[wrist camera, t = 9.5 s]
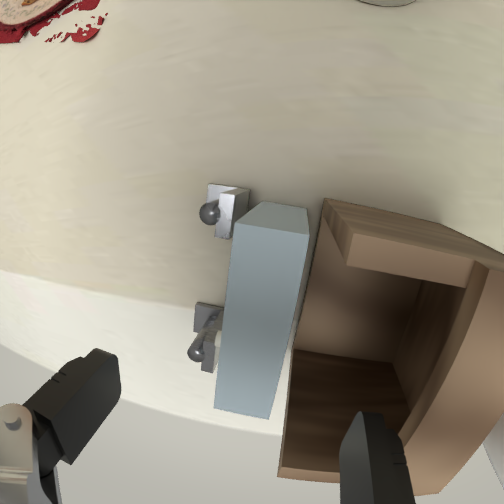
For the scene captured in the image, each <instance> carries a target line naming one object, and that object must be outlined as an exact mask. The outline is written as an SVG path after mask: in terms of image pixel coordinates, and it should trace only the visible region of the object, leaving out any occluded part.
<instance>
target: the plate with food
mask: <svg viewBox="0 0 504 504" xmlns="http://www.w3.org/2000/svg"><path fill="white" fill-rule="evenodd" d="M72 1H74V0H0V43H12V42H19V40H20V39H21V38H22V37H23V35H24V33H25V32H26V31H29V30H30V33H31V34H32V36H35V37H36V35H38V34H39V33H38V34H37V32H38V31H39V30H40V29H41V28H43V27H44V26H48V25H49V24H50V23H51V21H52V20H53V19H51V18H60V16H61V15H59V14H58V13H57V12H58V11H61V10H62V9H63V8H64V7H65V6H66V5H68V4H70V3H71V2H72ZM99 2H100V0H83V1H82V2H79V3H75V4H74V5H72V6H71V7H69V8H67V9H65V11H63V13H62V15H64V14H67V13H69V12H71V11H73V9H74V8H75V9H74V10H76V9H77V8H79V9H78V10H79V11H81V10H93V9H95V8H96V7H97V5H98V4H99ZM77 4H78V7H76V5H77ZM81 4H82V5H81ZM54 14H55V15H54ZM107 14H108V13H106V14H105V15H106V16H107ZM53 15H54V16H53ZM91 18H95V17H93V16H92V17H91ZM49 19H51V21H50V22H48V20H49ZM103 19H104V18H102V17H101V16H99V19H98V23H97V24H98V25H102V20H103ZM47 22H48V23H47ZM81 22H82V21H81ZM94 24H95V23H94ZM75 25H76V27H77V24H75ZM86 27H89V30H88V31H86V30H84V32H83V31H82V30H83V29H82V28H79V29H78V31H77V33H68V32H67V33H66V35H65V38H64V39H63V40H65V39H66V38H67V37H68V36H69V35H71V37H72V41H74V42H83V41H85V40H87V39H89V38H90V37H92V36H93V35H94V34H95V33H96V32H97V31H98V30H99V29H96V28H92V27H91V24H87V25H86ZM62 33H63V32H62ZM62 33H61V32H60V33H59V34H58V36H57V38H58V37H59V36H60V35H61V34H62ZM84 33H86V34H87V35H86V36H83V35H82V34H84ZM55 36H56V35H55V34H54V36H53V37H54V39H55V38H56V37H55ZM53 37H52V38H48V40H49V39H50V40H49V42H51V41H52V39H53ZM61 38H62V37H61ZM48 40H46V41H45V42H47V41H48ZM63 40H62V41H63ZM62 41H61V42H62ZM20 43H21V42H20Z"/></svg>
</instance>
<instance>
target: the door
mask: <svg viewBox="0 0 504 504" xmlns="http://www.w3.org/2000/svg"><path fill="white" fill-rule="evenodd" d="M309 237H310V234H309V225H308V217H307V209H306V208H301V207H295V206H289V205H283V204H277V203H271V202H265V201H262V202H261V203H259V204H258V205H257V206H255V207H254V208H253V209H252V210H250V211H249V212H248V213H247V214H245V215H244V216H243V217H241V218H240V219H239V220H238V221H236V222H235V225H234V233H233V241H232V249H231V257H230V265H229V274H228V282H227V290H226V299H225V307H224V316H223V325H222V331H218V332H217V335H216V338H215V346H216V347H220V352H219V361H218V371H217V380H216V390H215V400H214V408H215V409H220V410H224V411H228V412H233V413H237V414H242V415H247V416H252V417H257V418H263V419H268V420H269V417H270V413H271V409H272V405H273V401H274V397H275V393H276V389H277V385H278V381H279V377H280V373H281V369H282V365H283V361H284V357H285V352H286V348H287V344H288V339H289V335H290V330H291V326H292V321H293V317H294V312H295V307H296V303H297V298H298V293H299V288H300V283H301V278H302V273H303V268H304V263H305V258H306V253H307V247H308V242H309Z"/></svg>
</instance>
